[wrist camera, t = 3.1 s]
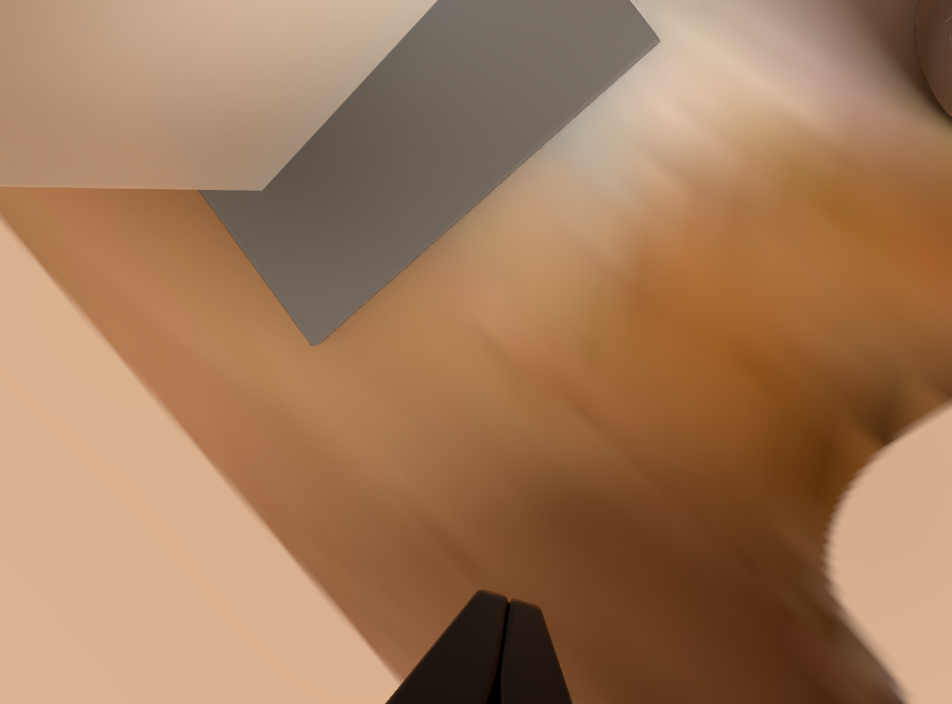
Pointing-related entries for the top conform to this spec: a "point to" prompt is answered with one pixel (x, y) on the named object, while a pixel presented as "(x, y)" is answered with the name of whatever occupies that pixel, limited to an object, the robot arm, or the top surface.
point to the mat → (425, 145)
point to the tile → (179, 86)
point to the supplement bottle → (936, 48)
